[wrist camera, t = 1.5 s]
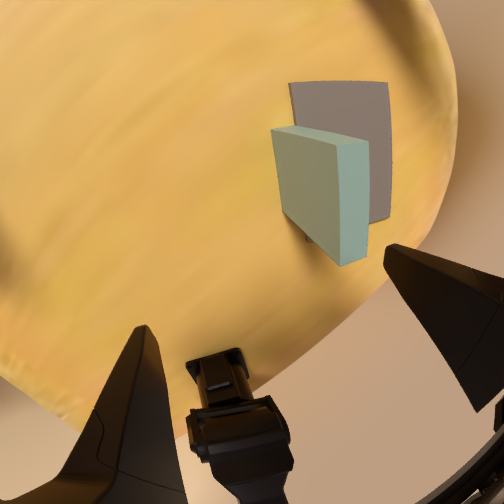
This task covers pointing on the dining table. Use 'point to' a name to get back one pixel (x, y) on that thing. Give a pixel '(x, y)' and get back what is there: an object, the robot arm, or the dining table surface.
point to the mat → (352, 126)
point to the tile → (325, 188)
